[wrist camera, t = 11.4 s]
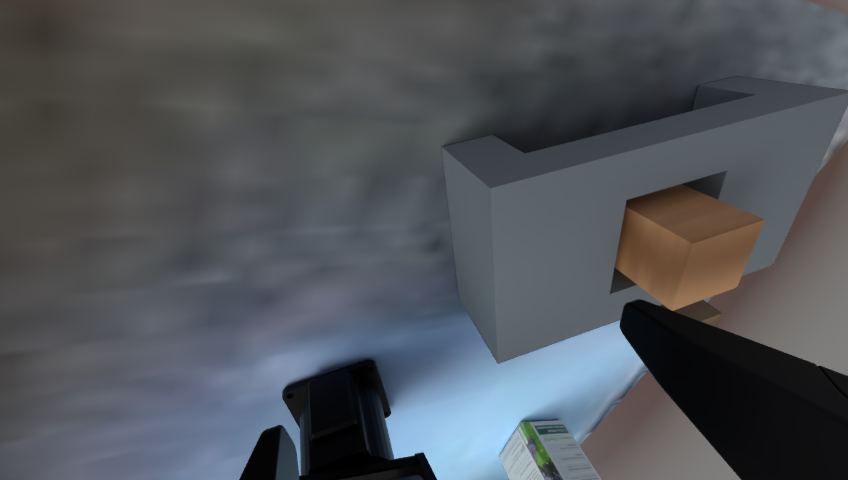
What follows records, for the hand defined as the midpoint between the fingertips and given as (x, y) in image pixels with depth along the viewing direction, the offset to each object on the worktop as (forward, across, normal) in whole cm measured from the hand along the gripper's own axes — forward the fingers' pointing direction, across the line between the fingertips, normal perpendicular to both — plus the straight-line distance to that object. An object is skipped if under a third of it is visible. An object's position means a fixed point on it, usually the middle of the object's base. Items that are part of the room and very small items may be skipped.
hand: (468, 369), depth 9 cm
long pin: (+13, -14, +5) cm, 20 cm away
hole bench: (+13, -14, +4) cm, 20 cm away
